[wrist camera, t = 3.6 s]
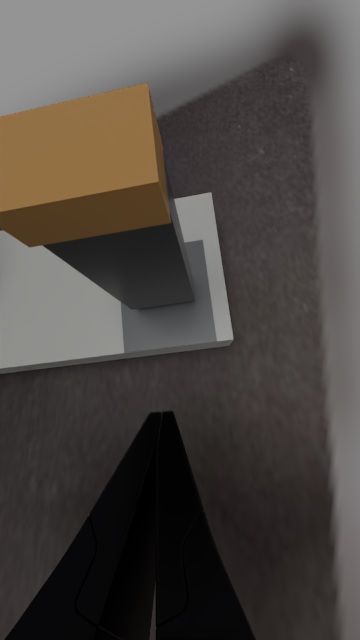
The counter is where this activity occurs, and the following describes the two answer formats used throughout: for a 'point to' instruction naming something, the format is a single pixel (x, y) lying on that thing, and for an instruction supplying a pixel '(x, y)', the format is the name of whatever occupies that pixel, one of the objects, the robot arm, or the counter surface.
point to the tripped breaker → (97, 194)
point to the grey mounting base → (107, 305)
